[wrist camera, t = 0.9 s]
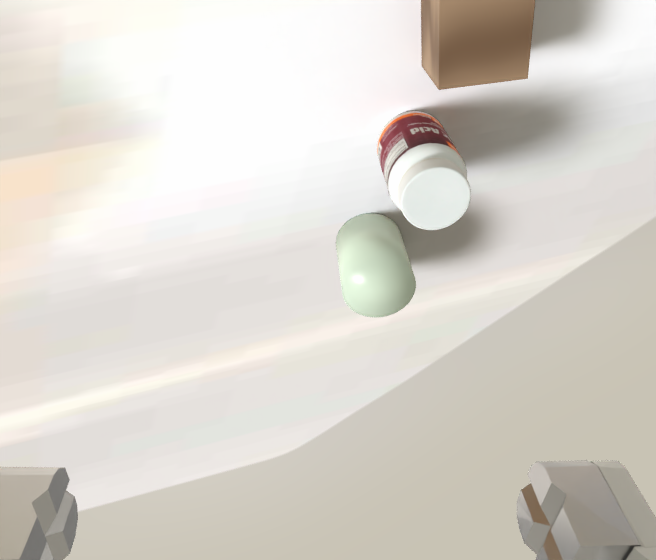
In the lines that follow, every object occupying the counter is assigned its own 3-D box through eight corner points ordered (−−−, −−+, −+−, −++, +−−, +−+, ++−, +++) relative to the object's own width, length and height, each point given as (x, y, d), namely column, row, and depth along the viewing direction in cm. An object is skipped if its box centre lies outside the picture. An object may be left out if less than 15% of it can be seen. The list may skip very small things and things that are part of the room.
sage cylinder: (338, 212, 41) (345, 256, 37) (405, 214, 42) (421, 258, 37) (333, 268, 44) (339, 316, 39) (396, 269, 45) (409, 317, 40)
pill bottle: (458, 126, 38) (495, 180, 31) (421, 185, 41) (448, 247, 34) (397, 96, 37) (422, 147, 30) (363, 159, 39) (379, 219, 32)
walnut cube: (420, -23, 33) (439, -9, 29) (506, -34, 33) (537, -22, 29) (421, 65, 36) (438, 89, 32) (500, 55, 36) (527, 78, 32)
